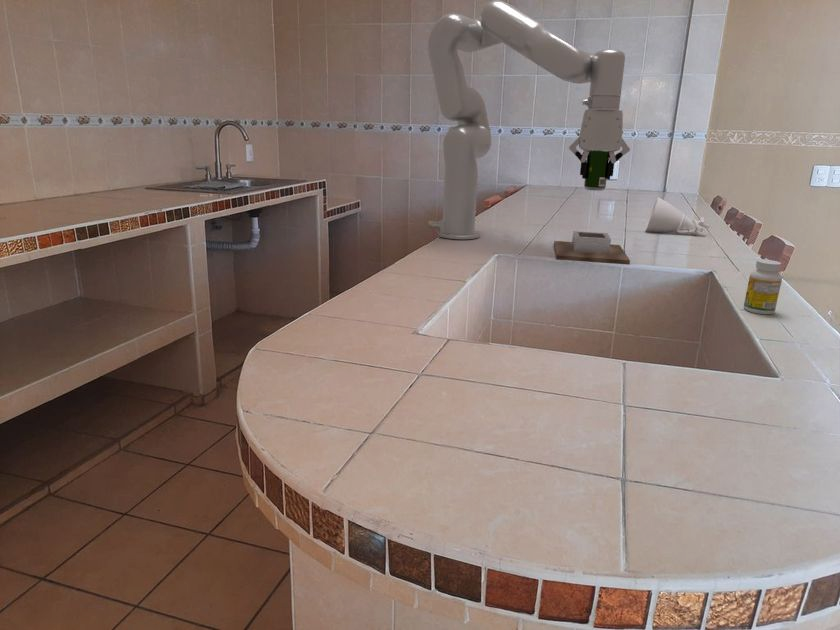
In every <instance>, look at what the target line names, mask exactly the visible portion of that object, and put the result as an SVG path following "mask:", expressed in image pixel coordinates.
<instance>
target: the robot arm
mask: <svg viewBox="0 0 840 630" xmlns="http://www.w3.org/2000/svg"><path fill="white" fill-rule="evenodd" d="M427 40H428V41H427V42H428V43H427V51H428V52H427V53H428V59H429V62H430V67H431V70H432V75H433V79H434V86H435V89H436V95H437V99H438V104H439V105H438V106H439V108H440V109H439V110H440V112H441V115H442V116H443V117H444V119H446V120H447V121H451V122H457V125H455V126H453V127H452V128H450V129H448V131H447V132H446V134H445V136H444V138H443V142H442V149H443V159H444V182H443V183H444V189H443V209H442V210H443V211H442V212H443V213H442V219H441V220H438V221H435V220H428V222H427V223H428V225H427V226H428V228H431V229H438V230H437V232H436V234H437V237H440V238H445V239H450V240H460V241H461V240H476V239H478V238H480V232H479V231H477V230H475V229H476V228H475V226H476V209H477V192H478V173H479V172H478V163H477V159H480V158H483V157H485V156H486V155H487V154H488V153H489V151H490V149H491V147H492V135H491V128H490V123H489V119H488V114H487V110H486V109H487V108H486V104H485V100H484V98H483V96H482V95H481V93H480V92H479V91H478V90H476V89H475V88H472V87H468V83H467V79H466V77H465V70H464V67H463V64H462V61H461V59H460V57H459V54H458V51H462V52H465V53H466V52H467V53H473V52H478V51H480V50H485V49H487V48H490V47H493V46H496V45H499V44H502V43H503V44H504V45H506V46H507V47H509V48H510V49H512V50H514V51H515V52H517V53H519V54H521V56H523V57H524V58H526V59H528V60H530V61H531V62H533V63H534V64H536V65H537V66H539V67H540V68H542V69H544V70H545V71H547V72H548V73H550V74H552V75H553V76H555V77H557V78H558V79H560V80H562V81H565V82H569V83H572V84H577V85H580V84H586V83H590V85H589V94H588V95H589V96H588V97H587V98H584V99H582V105H583V106H587V109H584V112H583V116H582V122H581V127H580V133H579V136H578V137H577V138H576V139H575V140H574V141H573V143H571V144H570V146H569V147H568V149H569V150H570V151H571V152H572V154H573V155H575V157H577V159H578V160H579V161H580V170H579V176H581V179H584V180H585V178H586V172H587V156H588V154H589V152H590V151H604V152H609V162H608V170H607V179H606V180H611V177H613V175H614V167H615V164H616V163H617V161H620V159H621V158H622V157H624V156H625V155H626V154H627V153H629V152H630V151H631V150H630V149H631V148H630V147H629V146H628V144H627V142H625V140H624V139H623V129H624V128H623V125H624V120H623V119H624V118H623V117H624V114H623V110H620V106H621V105H620V104H621V97H622V86H623V80H624V79H623V78H624V71H625V61H626V56H625V53H624V51H622V50H617V49H603V50H599V51H596V52H595V53H593V52H587V51H583V50H581V49H578V48H577V47H575V46H573V45H571V44H569V43H567V42H566V41H564V40H562V39H560V38H559V37H558V36H556V35H554V34H553V33H551V32H550V31H548V30H547V28H546V27H545V25H544V24H543V23H541V22H540V21H538V20H536V19H534V18H533V17H531V16H529V15H527V14H526V13H524V12H523V11H521V10H519V9H518V8H517V7H516V6H514V5H512V4H509V3H507V2H505V1H503V0H491V1H489V2H487V3H486V4H485V5H484V6H483V7H482V9H481V11H480V15H479V17H476V18H470V17H468V16H465V15H463V14H461V13H460V14H459V13H446V14H445V15H442V16H441V17H440V18H438V19H437V21H436V22H435V23H434V24H433V26H432V28H431V30H430V33H429V35H428V39H427ZM577 147H579V149H580V150H582V151H583V152H582V153H581V152H580V151H579V150H578V149H577ZM617 151H619V152H617ZM615 152H617V153H616V154H615Z"/></svg>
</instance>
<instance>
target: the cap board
mask: <svg viewBox="0 0 840 630" xmlns="http://www.w3.org/2000/svg"><path fill="white" fill-rule="evenodd" d="M611 243H612V238H611V237H610V236H609V234H608V233H607V232H594V231H578V230H577V231H575V230H573V231H572V239H571V241H564V240H563V241H562V240H561V241H560V240H554V243H553V247H554V252H555V259H556V260H563V261H579V262H592V263H608V264H622V265H630V264H631V260H630V258H629V257H628V255H627V254H626V252H625V250H624V249H623V248H622V246H621V244H611Z"/></svg>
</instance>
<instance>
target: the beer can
mask: <svg viewBox="0 0 840 630" xmlns="http://www.w3.org/2000/svg"><path fill="white" fill-rule="evenodd" d="M586 160H587V162H586V163H587V172H586V178H585V179H584V183H583V187H584V190H586V191H598V192H599V191H601V192H602V191H605V189H606V187H607V186H606V185H607V180H608V179H607V170H608V163H609V152H604V151H590V152H589V154H588V156H587V159H586Z"/></svg>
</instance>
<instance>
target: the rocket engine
mask: <svg viewBox="0 0 840 630" xmlns="http://www.w3.org/2000/svg"><path fill="white" fill-rule="evenodd" d="M704 221H705V217H700V219H699V220H697V219H695V218H693V219H692V220H691V219H690V218H689V217H688V216H687V215H686V213H683V212H682V211H680V210H679V209H678V208H677V207H675V206H673V205H672V204H671V203H669V202H668V201H666V200H664V199H662V198H661V197H657V199H656V201H655V204H654V205H653V208H652V211H651V213H650V215H649V218H648V220H647V223H646V226H645V229H644V231H645V232H647V233H676V234H680V235H684V234H685V235H686V234H691V235H693V236H699V237H702V236H706V233H705V232H703V231H704V229H709V228H710V227H711V226H710V224H709V222H708V223H706V222H704Z"/></svg>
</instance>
